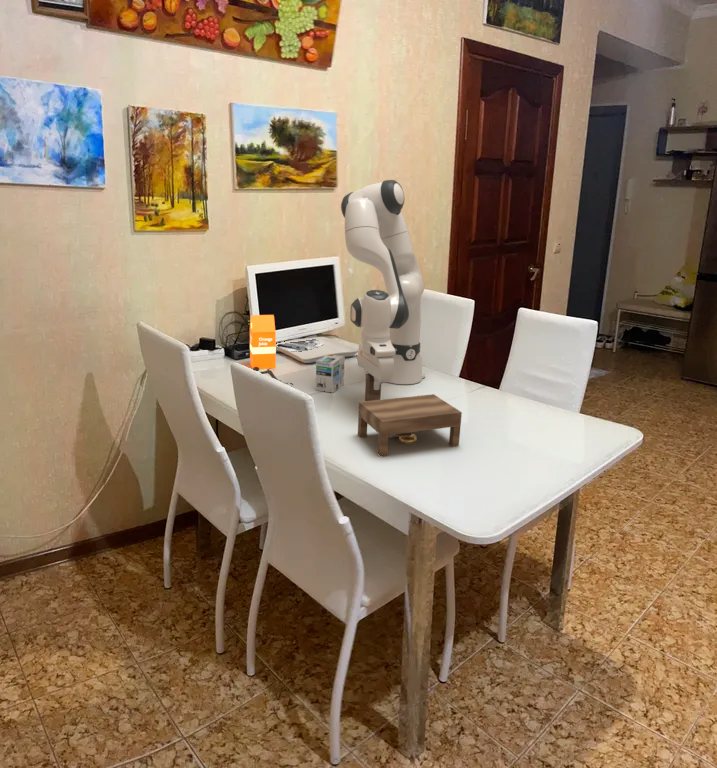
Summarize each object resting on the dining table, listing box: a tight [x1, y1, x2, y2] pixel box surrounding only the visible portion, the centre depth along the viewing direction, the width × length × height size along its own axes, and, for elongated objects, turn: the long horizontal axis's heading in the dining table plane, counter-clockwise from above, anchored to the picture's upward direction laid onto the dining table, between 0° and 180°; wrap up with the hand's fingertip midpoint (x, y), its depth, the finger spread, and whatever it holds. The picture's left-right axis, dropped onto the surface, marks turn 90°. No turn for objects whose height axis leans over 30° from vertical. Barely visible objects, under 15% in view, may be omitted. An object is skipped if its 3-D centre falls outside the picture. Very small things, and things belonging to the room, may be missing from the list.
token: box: [398, 433, 417, 445], centre depth 181 cm, size 5×5×2 cm
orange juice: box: [249, 314, 277, 370], centre depth 243 cm, size 8×9×20 cm
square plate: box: [276, 336, 358, 364], centre depth 265 cm, size 27×27×4 cm
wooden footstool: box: [357, 393, 463, 457], centre depth 179 cm, size 16×24×10 cm, turn 112°
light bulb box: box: [315, 354, 346, 393], centre depth 222 cm, size 11×7×11 cm, turn 160°
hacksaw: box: [252, 367, 294, 386], centre depth 233 cm, size 24×10×2 cm, turn 20°
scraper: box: [364, 373, 413, 439], centre depth 192 cm, size 24×7×12 cm, turn 22°
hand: (373, 387), depth 200 cm, fingers closed on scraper, 3 cm apart
